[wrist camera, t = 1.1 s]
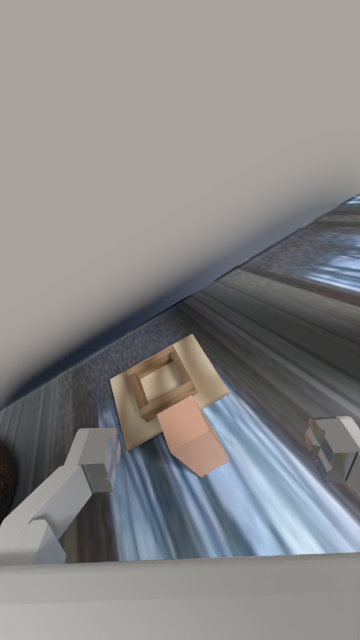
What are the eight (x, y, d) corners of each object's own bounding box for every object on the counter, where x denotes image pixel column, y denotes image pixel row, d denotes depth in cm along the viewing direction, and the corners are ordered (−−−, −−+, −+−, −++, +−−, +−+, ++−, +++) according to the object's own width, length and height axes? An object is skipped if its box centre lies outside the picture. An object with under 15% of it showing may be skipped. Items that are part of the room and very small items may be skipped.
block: (214, 430, 38) (191, 395, 30) (229, 460, 35) (209, 430, 27) (187, 445, 38) (156, 414, 30) (200, 477, 35) (170, 452, 27)
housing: (193, 336, 51) (188, 325, 49) (229, 393, 41) (225, 384, 39) (112, 381, 50) (103, 373, 48) (128, 451, 40) (118, 444, 38)
